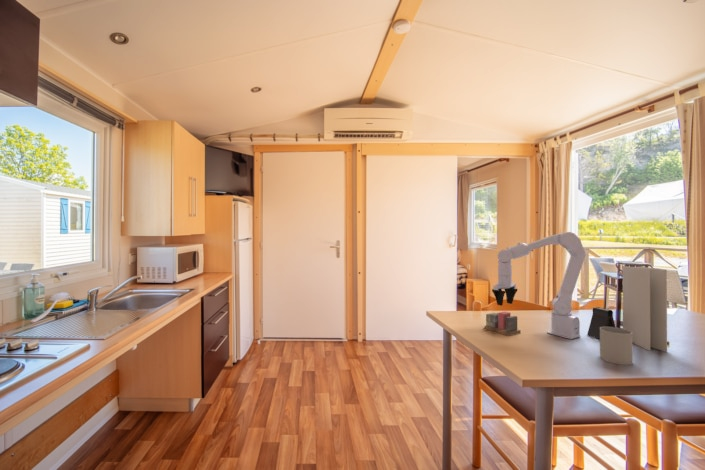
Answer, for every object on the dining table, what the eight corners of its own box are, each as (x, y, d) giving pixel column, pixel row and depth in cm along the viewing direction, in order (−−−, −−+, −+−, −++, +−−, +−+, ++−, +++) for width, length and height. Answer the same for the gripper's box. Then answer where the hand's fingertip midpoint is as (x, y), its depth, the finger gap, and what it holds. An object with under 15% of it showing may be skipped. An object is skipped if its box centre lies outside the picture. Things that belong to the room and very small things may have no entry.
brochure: (667, 351, 109) (666, 269, 109) (649, 350, 110) (649, 269, 110) (638, 339, 122) (638, 266, 123) (622, 338, 124) (622, 266, 124)
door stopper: (601, 340, 121) (601, 310, 121) (587, 335, 127) (587, 307, 127) (618, 338, 123) (618, 309, 123) (603, 333, 129) (603, 306, 129)
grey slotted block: (520, 333, 129) (520, 316, 129) (509, 335, 125) (509, 318, 126) (495, 325, 140) (495, 310, 140) (484, 328, 136) (484, 312, 136)
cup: (599, 352, 107) (599, 325, 107) (630, 358, 102) (630, 329, 102) (600, 360, 101) (600, 330, 101) (633, 366, 96) (633, 335, 96)
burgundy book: (510, 328, 132) (510, 312, 132) (503, 330, 129) (503, 314, 129) (505, 327, 134) (505, 311, 134) (498, 328, 132) (498, 312, 132)
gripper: (506, 273, 146) (506, 301, 146) (487, 275, 139) (487, 304, 139) (520, 275, 140) (520, 303, 140) (501, 276, 133) (501, 307, 133)
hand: (504, 304), depth 139 cm, fingers open, 7 cm apart
